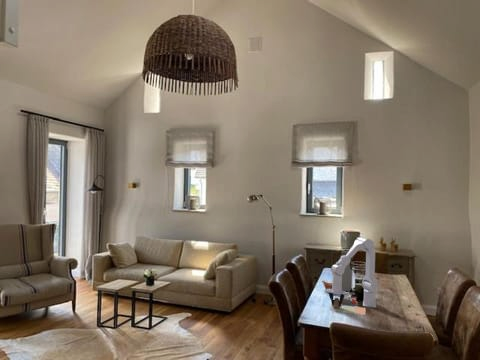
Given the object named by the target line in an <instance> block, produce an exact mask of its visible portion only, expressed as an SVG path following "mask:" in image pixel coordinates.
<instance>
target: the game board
mask: <svg viewBox="0 0 480 360" xmlns="http://www.w3.org/2000/svg"><path fill="white" fill-rule="evenodd" d="M329 311H332V312H341V313H346V314H354V315H361V316H366V313H367V312H366V311H367V310H366V307H360V306H359V307H358V306H353V305H345V304H341V307H340V308H339V309H336V308H333V306H332V305H331V307H330V309H329Z"/></svg>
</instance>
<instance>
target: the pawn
mask: <svg viewBox="0 0 480 360" xmlns="http://www.w3.org/2000/svg"><path fill="white" fill-rule="evenodd" d="M339 299H340V298H338V297H335V298H333V308H336V309H339V308H340V300H339Z"/></svg>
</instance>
